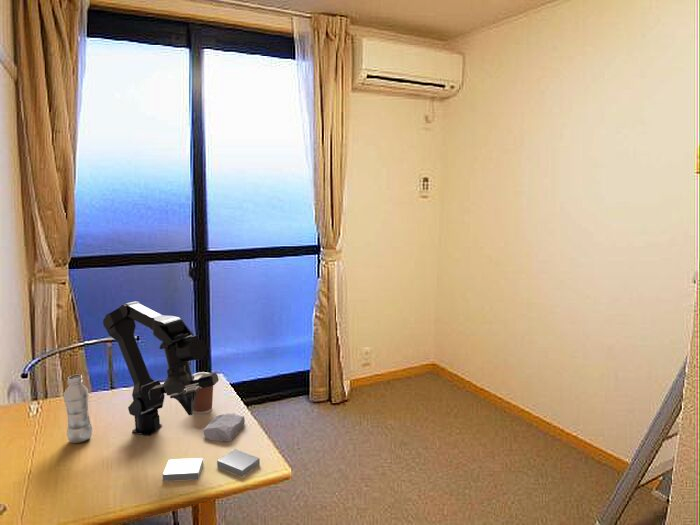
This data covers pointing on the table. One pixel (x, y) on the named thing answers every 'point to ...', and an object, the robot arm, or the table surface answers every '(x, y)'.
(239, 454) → the tile
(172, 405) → the table surface
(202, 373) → the coffee cup
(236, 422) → the stone block
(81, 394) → the plastic bottle
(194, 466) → the twin tile
